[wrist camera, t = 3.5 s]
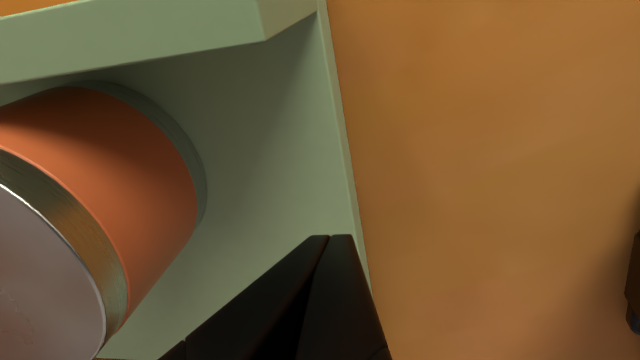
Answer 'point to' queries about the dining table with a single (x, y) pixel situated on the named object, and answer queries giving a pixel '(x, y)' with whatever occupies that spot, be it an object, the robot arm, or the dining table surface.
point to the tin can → (88, 214)
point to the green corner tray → (211, 131)
